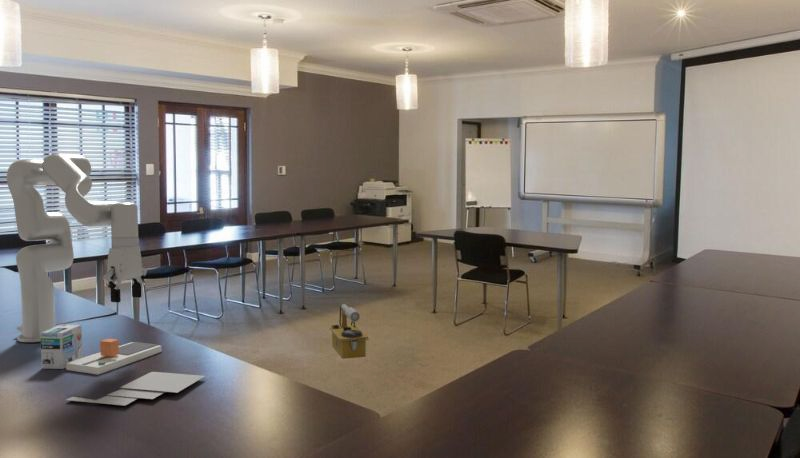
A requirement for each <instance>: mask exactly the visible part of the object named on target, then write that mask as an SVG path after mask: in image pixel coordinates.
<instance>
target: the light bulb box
mask: <svg viewBox="0 0 800 458" xmlns="http://www.w3.org/2000/svg"><path fill="white" fill-rule="evenodd" d="M82 327H83V326H82V325H81V324H58V325H55V327H54V328H51V329H49V330H46V331H44V332H41V333H40V335H41V342H40V356H41V358H40V359H41V361H40V362H41V369H47V370H48V369H52V370H53V369H54V370H64V369H66V363H68V362H71V361H74V360H77V359H80V358H83V335H82V332H83V331H82Z"/></svg>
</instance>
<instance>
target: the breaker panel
mask: <svg viewBox="0 0 800 458" xmlns="http://www.w3.org/2000/svg"><path fill="white" fill-rule="evenodd" d="M162 347H163V346H162V345H161V344H160V345H159V344H156V343H146V342H139V341H134V342H133V341H132V342H128V343H124V344H122V345H119V354H118V355H115V356H112V357H109V356H101V354H100V351H99V352H97V353H93V354H90V355H87V356H84V357H83V356H82V358H80V359H77V360H74V361H71V362H68V363H66V368H65V369H66V371H72V372H76V373H77V372H78V373H84V374H85V373H86V374H91V375H92V374H93V375H96V376H97V375H102V374H104V373H107V372H109V371H112V370H115V369H118V368H121V367H123V366H127V365H129V364H132V363H134V362H137V361H141V360H143V359H146V358H148V357H151V356H154V355H156V354H159V353H162Z"/></svg>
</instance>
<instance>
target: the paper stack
mask: <svg viewBox="0 0 800 458" xmlns="http://www.w3.org/2000/svg"><path fill="white" fill-rule="evenodd" d="M205 377H206V375H199V374H186V373H176V372H175V373H174V372H160V371H151V372H150V371H149V372H148V373H147V374H144V375H142V376H140V377H138V378H135V379H134V380H132V381H130V382H128V383H126V384H124V385H122V386H120V387H119V389H118V390H116V391H113V392H110V393H108V394H105V395H103V396H101V397H98V398H96V399H95V398H89V397H84V396H78V395H74V396H71V397H69V398H66V401H72V402H82V403H85V402H86V403H92V404H104V405H115V406H124V407H125V406H127V405H129V404H131V403H133V402H135V401H136V400H138V399H146V400H154V399H156V398H157V397H159V396H161V395H163V394H164V393H176V394H177V393H179V392H181V391H183V390H185V389H186V388H187V387H190V386H192V385H193V384H195V383H196V382H199V380H201V379H203V378H205Z"/></svg>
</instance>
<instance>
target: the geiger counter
mask: <svg viewBox="0 0 800 458" xmlns="http://www.w3.org/2000/svg"><path fill="white" fill-rule="evenodd" d="M339 307H340V308H339V319H338V320H339V324H332V325H331V326H329V327H328V328H329V330H330V331H331V334H332V336H331V337H332V339H331V343H332V344H331V346H332V347H333V349H334V350H335V352H336V353H337V354H338V355H339V356H340V358H341V359H354V358H356V359H357V358H366V356H367V354H366V352H367V350H366V349H367V348H366V347H367V344H366V342H367V341H369V340H370V338H369V335H368V336H367V334H366V333H365V332H364V331H363V330H362V329H360V327H359V326H357V325H356V322H359V320H360V318H361V315H360V313H359V312H358V311H357V310H356V309H355V308H353V307H351V306H348V305H347V304H346V303H343V304H341V305H340V306H339ZM348 319H349V320H350V321H351V323H350V325H348V322H347V320H348Z"/></svg>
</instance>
